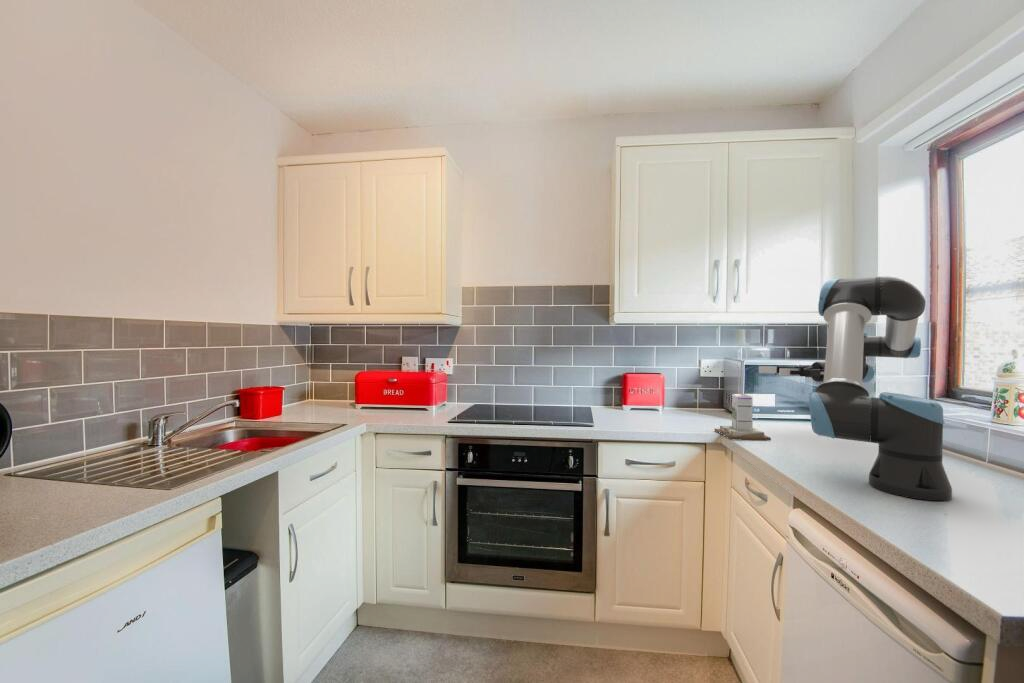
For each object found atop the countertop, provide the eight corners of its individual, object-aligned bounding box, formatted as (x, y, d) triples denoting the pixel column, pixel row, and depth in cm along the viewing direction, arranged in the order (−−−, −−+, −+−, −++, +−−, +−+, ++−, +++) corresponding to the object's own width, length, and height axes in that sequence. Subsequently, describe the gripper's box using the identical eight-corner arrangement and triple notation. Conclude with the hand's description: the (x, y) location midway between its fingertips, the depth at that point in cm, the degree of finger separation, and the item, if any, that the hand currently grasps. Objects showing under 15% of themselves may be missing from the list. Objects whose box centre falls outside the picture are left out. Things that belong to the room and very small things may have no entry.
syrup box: (753, 435, 160) (753, 396, 160) (735, 434, 161) (736, 395, 161) (747, 431, 166) (748, 394, 165) (730, 431, 167) (731, 393, 166)
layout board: (770, 440, 156) (770, 433, 156) (731, 439, 157) (731, 433, 157) (750, 431, 170) (750, 425, 170) (714, 431, 171) (714, 424, 171)
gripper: (851, 385, 150) (789, 384, 151) (804, 379, 175) (751, 377, 176) (851, 363, 150) (789, 362, 151) (804, 360, 175) (751, 359, 176)
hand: (769, 370), depth 163 cm, fingers open, 13 cm apart
